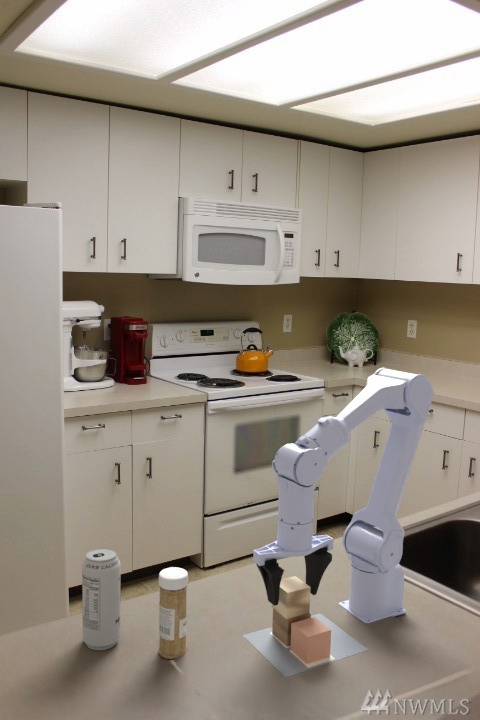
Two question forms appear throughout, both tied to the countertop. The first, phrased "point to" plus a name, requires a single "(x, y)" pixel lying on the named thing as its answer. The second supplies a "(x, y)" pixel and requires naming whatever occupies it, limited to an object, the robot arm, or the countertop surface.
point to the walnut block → (285, 626)
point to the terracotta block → (310, 640)
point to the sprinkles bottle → (172, 612)
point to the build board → (290, 661)
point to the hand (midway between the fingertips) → (292, 597)
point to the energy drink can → (101, 598)
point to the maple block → (293, 598)
